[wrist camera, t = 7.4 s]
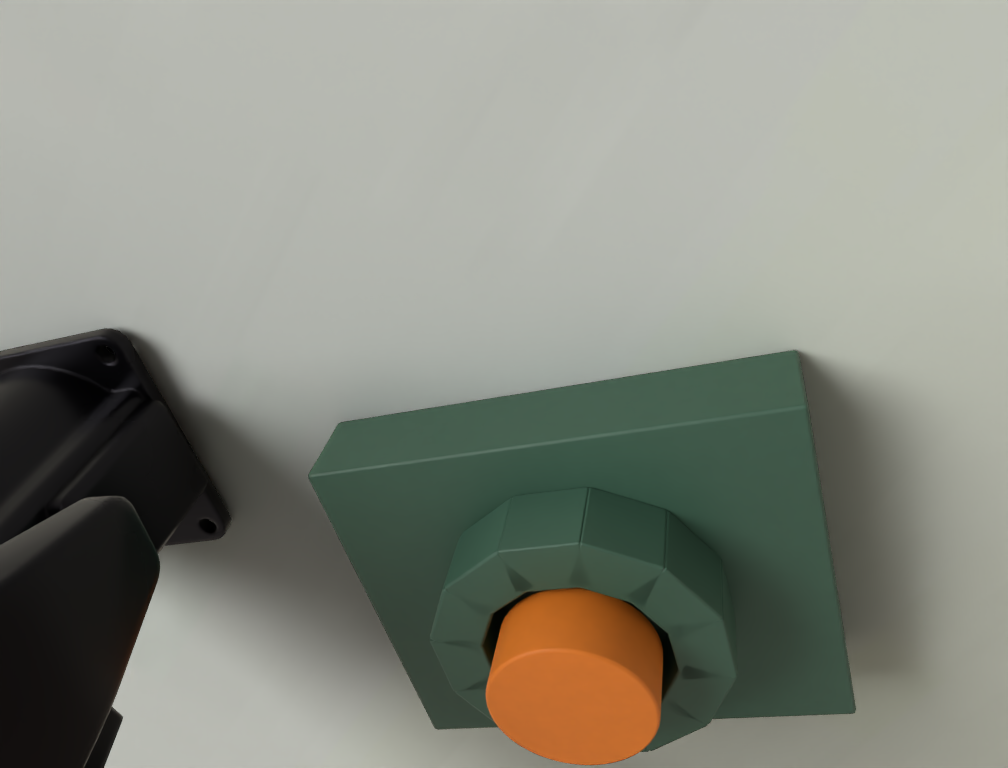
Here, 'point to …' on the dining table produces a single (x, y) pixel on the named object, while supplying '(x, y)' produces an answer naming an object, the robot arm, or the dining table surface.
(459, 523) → the tap control
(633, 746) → the button
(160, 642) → the dining table surface
